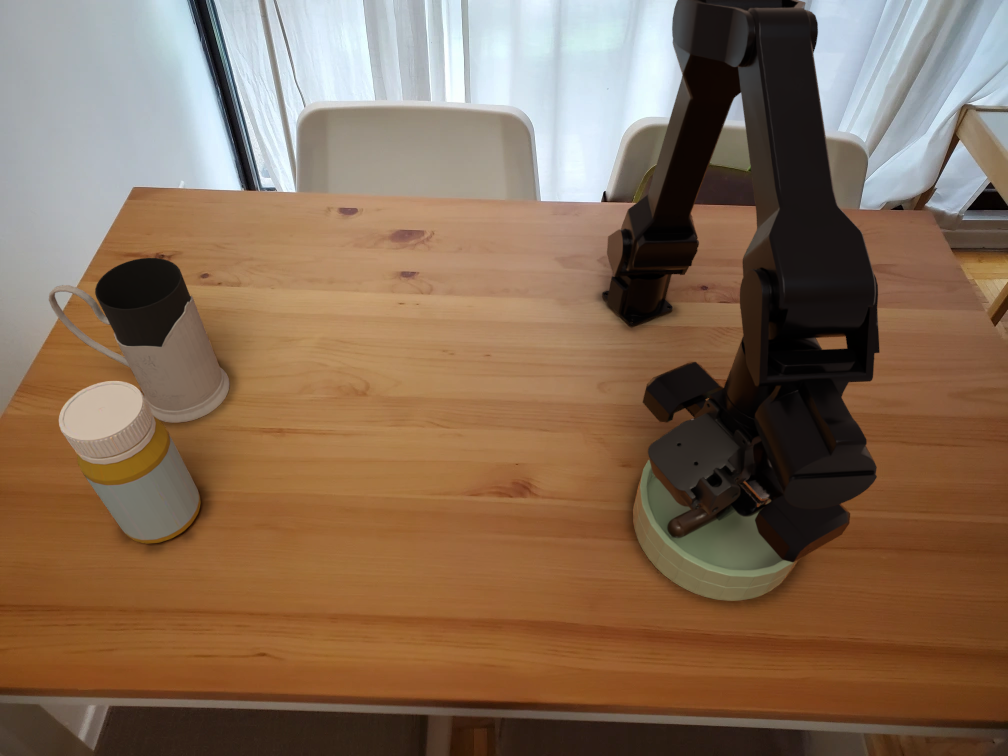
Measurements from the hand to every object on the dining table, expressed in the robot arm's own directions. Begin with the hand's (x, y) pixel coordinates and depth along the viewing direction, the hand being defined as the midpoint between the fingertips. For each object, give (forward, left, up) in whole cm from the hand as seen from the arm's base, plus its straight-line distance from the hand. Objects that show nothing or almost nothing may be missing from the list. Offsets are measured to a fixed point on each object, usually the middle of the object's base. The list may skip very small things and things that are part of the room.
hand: (713, 508), depth 65 cm
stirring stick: (0, 0, -1) cm, 1 cm away
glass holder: (+41, -41, -3) cm, 58 cm away
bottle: (+44, -25, -3) cm, 51 cm away
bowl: (-1, 0, -3) cm, 3 cm away
